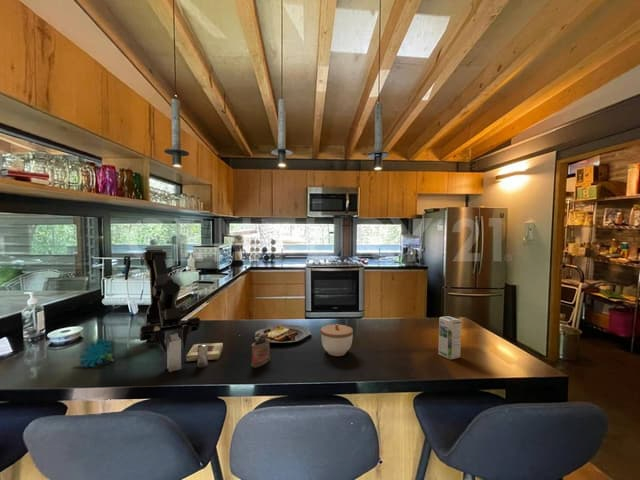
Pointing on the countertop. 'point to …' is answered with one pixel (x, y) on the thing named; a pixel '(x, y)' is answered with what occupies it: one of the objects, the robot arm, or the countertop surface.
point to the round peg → (202, 355)
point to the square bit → (173, 352)
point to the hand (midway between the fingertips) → (175, 350)
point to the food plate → (283, 333)
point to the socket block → (212, 354)
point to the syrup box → (449, 337)
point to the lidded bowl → (336, 339)
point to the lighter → (260, 350)
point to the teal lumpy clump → (96, 353)
